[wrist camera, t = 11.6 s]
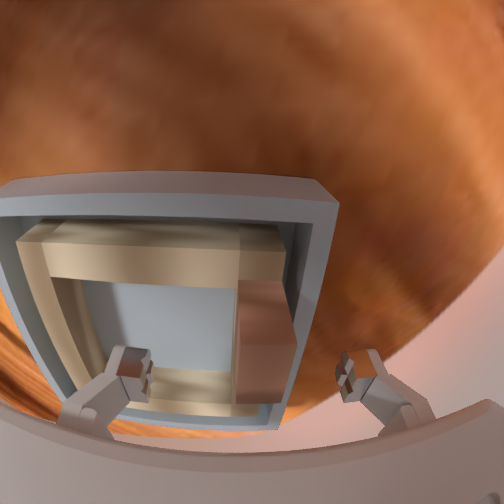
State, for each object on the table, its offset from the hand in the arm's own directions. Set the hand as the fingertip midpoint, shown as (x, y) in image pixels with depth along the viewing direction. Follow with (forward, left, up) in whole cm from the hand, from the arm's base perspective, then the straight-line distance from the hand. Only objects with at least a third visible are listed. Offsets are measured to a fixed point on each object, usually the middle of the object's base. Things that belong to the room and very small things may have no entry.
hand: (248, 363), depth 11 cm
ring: (-5, -4, -6) cm, 9 cm away
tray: (-6, -4, -7) cm, 10 cm away
